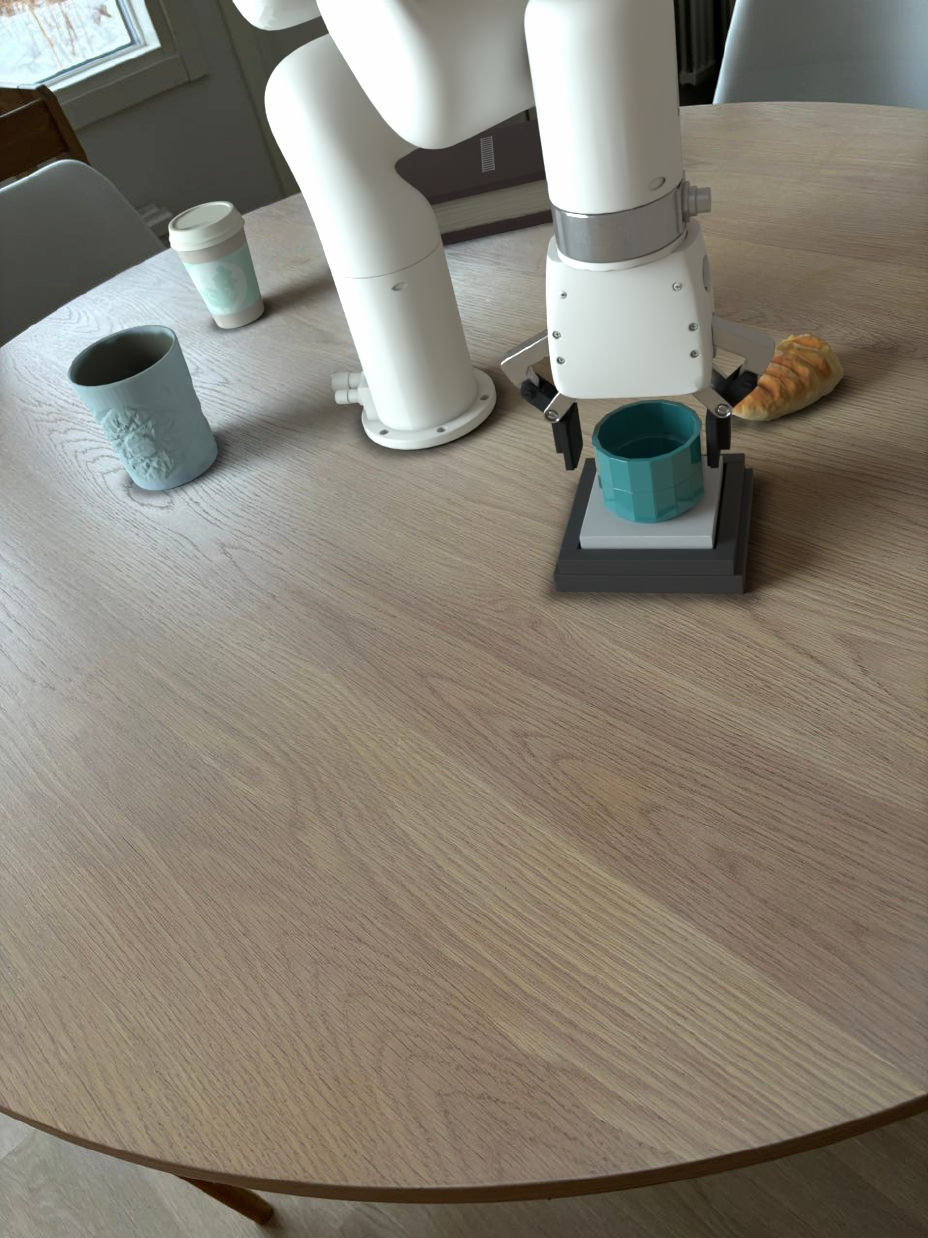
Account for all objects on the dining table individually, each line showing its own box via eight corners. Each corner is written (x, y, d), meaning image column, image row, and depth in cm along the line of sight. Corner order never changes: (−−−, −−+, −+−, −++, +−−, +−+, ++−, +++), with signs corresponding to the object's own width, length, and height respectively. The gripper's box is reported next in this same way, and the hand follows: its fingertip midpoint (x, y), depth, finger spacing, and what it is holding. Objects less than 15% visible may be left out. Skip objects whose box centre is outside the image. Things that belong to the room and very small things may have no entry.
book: (556, 157, 132) (549, 110, 128) (569, 217, 118) (561, 166, 114) (350, 205, 136) (337, 160, 132) (338, 268, 122) (323, 220, 118)
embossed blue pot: (192, 423, 102) (141, 315, 94) (247, 451, 96) (197, 337, 88) (107, 477, 98) (46, 369, 90) (159, 510, 92) (99, 396, 84)
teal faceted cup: (595, 528, 70) (584, 463, 67) (610, 466, 75) (601, 401, 72) (701, 527, 68) (695, 460, 64) (710, 463, 73) (705, 396, 69)
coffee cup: (192, 335, 117) (148, 235, 109) (229, 298, 123) (190, 200, 115) (252, 335, 114) (211, 232, 106) (288, 297, 119) (252, 196, 111)
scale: (555, 591, 72) (549, 560, 70) (583, 488, 80) (578, 457, 78) (743, 594, 68) (742, 561, 66) (753, 484, 76) (752, 451, 74)
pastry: (774, 438, 80) (773, 396, 77) (708, 413, 84) (705, 372, 82) (849, 382, 83) (851, 340, 80) (782, 360, 87) (781, 320, 85)
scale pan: (582, 553, 71) (579, 536, 70) (602, 475, 77) (599, 458, 76) (713, 553, 68) (712, 536, 67) (723, 472, 74) (722, 455, 73)
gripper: (778, 173, 58) (776, 422, 70) (489, 202, 64) (533, 428, 75) (772, 233, 53) (771, 490, 65) (460, 260, 59) (511, 492, 70)
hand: (643, 457), depth 70 cm, fingers open, 9 cm apart
